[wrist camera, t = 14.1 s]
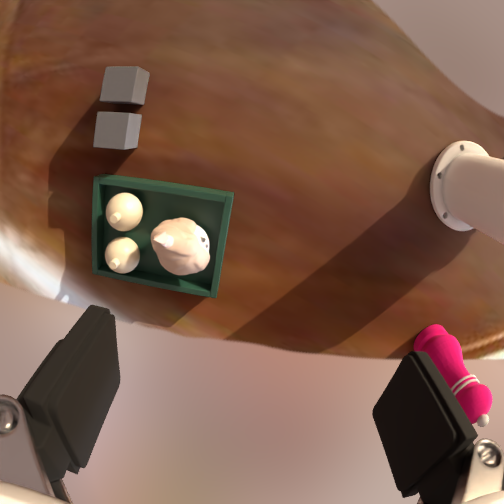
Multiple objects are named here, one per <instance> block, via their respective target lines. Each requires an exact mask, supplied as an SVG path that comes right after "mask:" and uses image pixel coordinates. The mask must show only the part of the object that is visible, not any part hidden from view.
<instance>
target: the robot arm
mask: <svg viewBox="0 0 504 504" xmlns="http://www.w3.org/2000/svg"><path fill="white" fill-rule="evenodd" d="M430 196H431V202H432V205H433V208H434V211H435V213H436V214H437V216H438V218H439V219H440V220H441V221H442V222H443V223H444V224H445V225H446V226H448V227H450V228H452V229H454V230H457V231H467V230H471V229H473V228H475V229H477V230H479V231H481V232H482V233H484V234H486V235H488V236H489V237H491V238H493V239H495V240H496V241H498V242H500V243H501V244H503V245H504V160H502V159H497V158H493V157H489V155H488V154H487V152H486V151H485V150H484V149H483V148H482V147H480V146H479V145H478V144H475V143H473V142H469V141H458V142H454V143H452V144H450V145H449V146H447V147H446V148H445V149H444V150H443V151H442V152H441V153H440V155H439V156H438V158H437V160H436V162H435V164H434V166H433V170H432V174H431V180H430ZM119 384H120V370H119V361H118V351H117V339H116V326H115V317H114V315H112V314H110V311H109V309H107V308H103V307H99V306H95V305H90V306H89V307H88V308H87V310H86V311H85V312H84V313H83V315H82V316H81V317H80V318H79V320H78V321H77V322H76V324H75V325H74V326H73V327H72V329H71V330H70V331H69V333H68V334H67V335H66V337H65V338H64V339H62V340H59V341H58V342H57V343H56V345H55V346H54V347H53V348H52V350H51V351H50V352H49V354H48V355H47V356H46V358H45V359H44V361H43V362H42V363H41V365H40V366H39V368H38V369H37V370H36V372H35V373H34V374H33V376H32V377H31V379H30V380H29V382H28V383H27V384H26V386H25V388H24V389H23V390H22V392H21V393H20V395H19V396H18V398H17V399H14V398H13V397H11V396H8V395H0V504H73V503H72V501H71V499H70V496H69V494H68V492H67V490H66V487H65V485H64V483H63V480H62V478H63V477H64V475H65V473H66V470H68V471H70V472H73V473H75V474H78V472H79V469H80V467H82V468H85V467H86V465H87V463H88V460H89V458H90V455H91V453H92V450H93V447H94V445H95V443H96V440H97V437H98V435H99V433H100V430H101V428H102V425H103V423H104V420H105V418H106V415H107V413H108V411H109V408H110V406H111V404H112V401H113V399H114V397H115V394H116V392H117V390H118V388H119ZM373 418H374V421H375V424H376V426H377V430H378V432H379V435H380V438H381V441H382V444H383V447H384V450H385V453H386V456H387V459H388V462H389V465H390V468H391V471H392V474H393V477H394V480H395V483H396V487H397V489H398V490H399V491H401V493H402V496H403V498H405V497H409V496H413V495H416V494H417V493H418V492H419V494H420V498H419V500H418V503H417V504H504V453H503V451H502V449H501V448H500V446H499V445H498V444H497V443H496V442H494V441H493V440H490V439H481V440H479V441H478V442H477V443H476V444H475V445H474V444H473V441H474V440H475V439H476V438H477V436H478V435H477V433H476V431H475V429H474V427H473V426H472V424H471V422H470V420H469V419H468V417H467V415H466V414H465V412H464V410H463V409H462V407H461V405H460V404H459V402H458V400H457V399H456V397H455V395H454V394H453V392H452V390H451V389H450V387H449V386H448V384H447V383H446V381H445V379H444V378H443V376H442V375H441V373H440V372H439V370H438V369H437V367H436V365H435V364H434V362H433V361H432V359H431V358H430V356H429V355H428V354H427V353H426V352H422V351H411V352H409V353H408V355H406V356H405V357H404V358H403V359H402V361H401V363H400V365H399V367H398V368H397V370H396V372H395V374H394V375H393V377H392V379H391V380H390V382H389V384H388V386H387V387H386V389H385V391H384V392H383V394H382V395H381V397H380V398H379V400H378V402H377V403H376V405H375V406H374V408H373Z"/></svg>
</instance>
